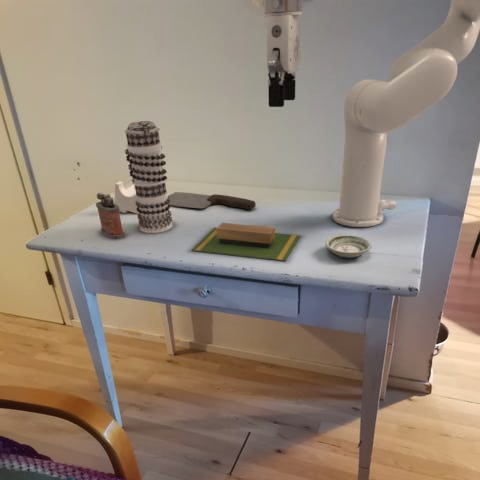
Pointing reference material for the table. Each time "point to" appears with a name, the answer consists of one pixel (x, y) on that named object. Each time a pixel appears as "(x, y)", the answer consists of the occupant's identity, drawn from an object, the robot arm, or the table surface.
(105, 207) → the lighter
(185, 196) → the cleaver
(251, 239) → the chalkboard eraser
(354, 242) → the saucer
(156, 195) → the decorative candle
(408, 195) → the table surface
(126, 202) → the bracket
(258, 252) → the cloth
